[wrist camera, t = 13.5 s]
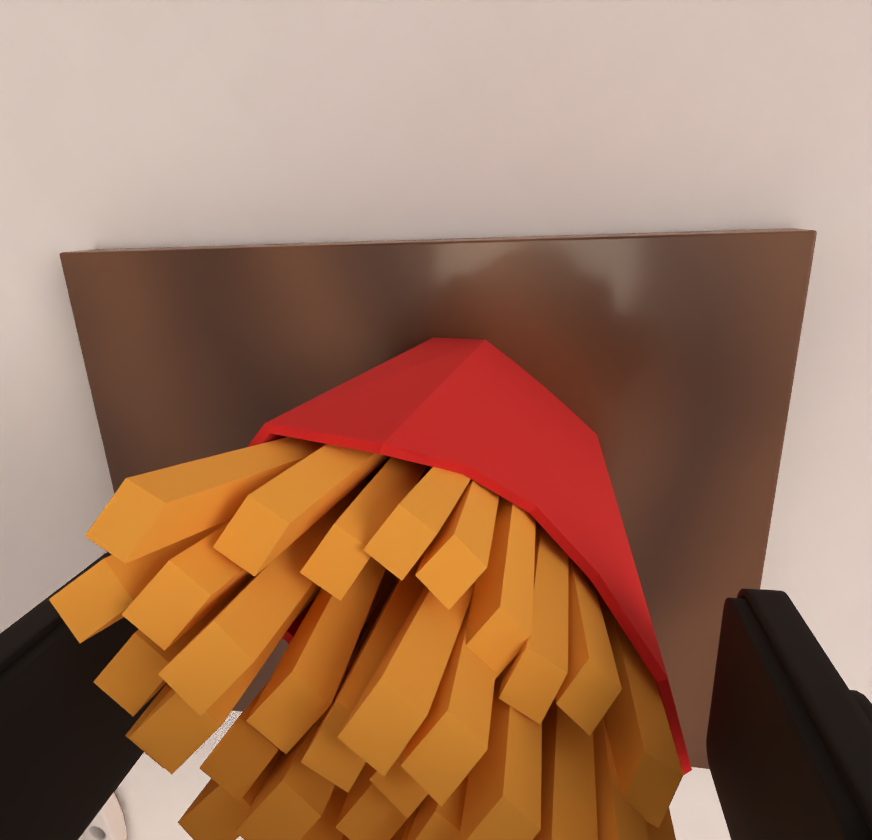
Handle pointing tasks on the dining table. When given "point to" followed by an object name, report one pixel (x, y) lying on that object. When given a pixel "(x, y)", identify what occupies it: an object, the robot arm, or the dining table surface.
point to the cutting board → (520, 341)
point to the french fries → (394, 619)
